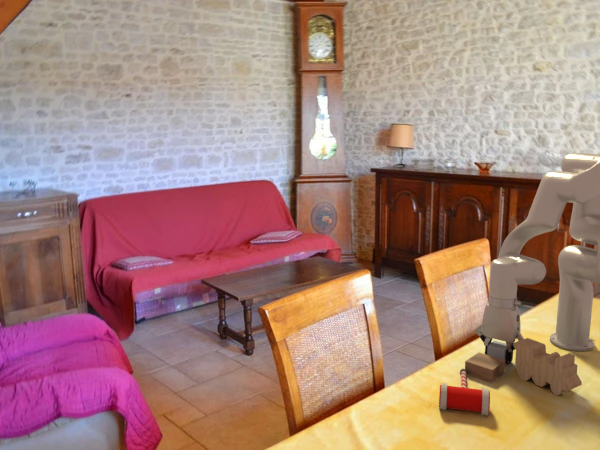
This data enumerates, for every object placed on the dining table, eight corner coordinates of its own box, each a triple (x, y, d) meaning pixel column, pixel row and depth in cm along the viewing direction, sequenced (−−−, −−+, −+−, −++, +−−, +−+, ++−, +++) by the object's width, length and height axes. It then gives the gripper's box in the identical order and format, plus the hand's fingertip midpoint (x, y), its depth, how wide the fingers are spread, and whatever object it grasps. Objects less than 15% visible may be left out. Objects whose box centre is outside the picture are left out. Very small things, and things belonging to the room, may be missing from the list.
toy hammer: (441, 372, 154) (442, 351, 153) (485, 377, 151) (486, 356, 150) (438, 414, 133) (439, 390, 131) (489, 420, 129) (490, 396, 128)
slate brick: (493, 355, 163) (494, 340, 162) (509, 360, 160) (510, 344, 159) (486, 361, 160) (487, 345, 159) (503, 366, 156) (504, 350, 155)
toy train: (568, 400, 137) (571, 363, 136) (510, 374, 152) (513, 341, 150) (580, 394, 140) (584, 358, 138) (523, 369, 155) (525, 336, 153)
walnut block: (478, 365, 158) (479, 352, 157) (504, 373, 152) (505, 360, 152) (464, 374, 153) (465, 361, 152) (491, 383, 147) (492, 370, 146)
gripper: (536, 304, 154) (532, 363, 157) (478, 292, 164) (475, 348, 168) (527, 311, 148) (523, 373, 152) (468, 298, 159) (465, 356, 162)
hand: (498, 359), depth 160 cm, fingers closed on slate brick, 5 cm apart
